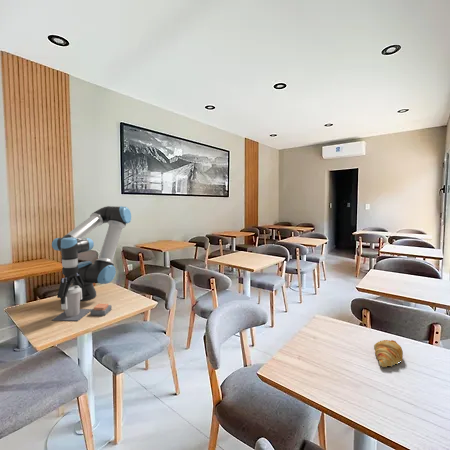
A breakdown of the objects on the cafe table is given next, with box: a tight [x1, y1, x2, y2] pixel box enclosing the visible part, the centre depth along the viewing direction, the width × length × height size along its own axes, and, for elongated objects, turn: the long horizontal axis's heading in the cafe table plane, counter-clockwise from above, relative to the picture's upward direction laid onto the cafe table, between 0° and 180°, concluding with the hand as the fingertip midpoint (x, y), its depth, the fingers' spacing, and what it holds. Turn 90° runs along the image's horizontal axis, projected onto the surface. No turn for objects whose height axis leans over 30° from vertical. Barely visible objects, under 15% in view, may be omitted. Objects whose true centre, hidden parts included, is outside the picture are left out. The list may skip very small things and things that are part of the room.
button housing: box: [89, 304, 113, 317], centre depth 149 cm, size 8×8×3 cm
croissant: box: [373, 339, 404, 368], centre depth 107 cm, size 21×10×8 cm, turn 138°
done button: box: [93, 303, 109, 310], centre depth 149 cm, size 6×6×2 cm
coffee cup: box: [64, 285, 81, 317], centre depth 145 cm, size 10×10×15 cm
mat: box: [51, 308, 93, 322], centre depth 145 cm, size 14×14×1 cm
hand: (72, 304), depth 145 cm, fingers open, 13 cm apart
